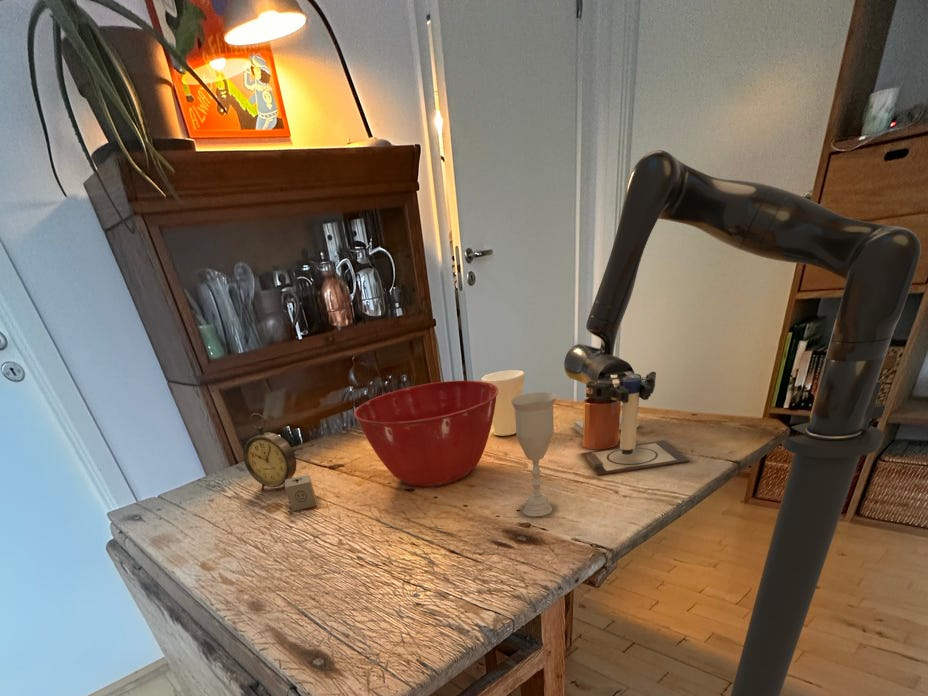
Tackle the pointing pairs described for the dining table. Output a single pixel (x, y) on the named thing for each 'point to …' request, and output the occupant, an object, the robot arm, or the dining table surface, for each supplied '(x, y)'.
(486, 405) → the mixing bowl
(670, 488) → the dining table surface
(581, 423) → the hard drive
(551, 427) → the chalice
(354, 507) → the dining table surface
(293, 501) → the grey cube
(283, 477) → the alarm clock
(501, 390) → the cup
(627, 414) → the marker
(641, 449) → the brown tray
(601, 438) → the pen cup
